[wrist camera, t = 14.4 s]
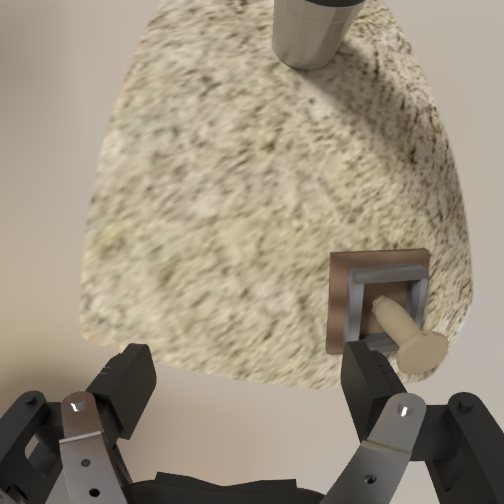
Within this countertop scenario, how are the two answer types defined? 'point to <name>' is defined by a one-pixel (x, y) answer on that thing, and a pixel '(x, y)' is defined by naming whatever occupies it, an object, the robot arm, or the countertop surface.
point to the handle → (409, 338)
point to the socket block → (373, 294)
